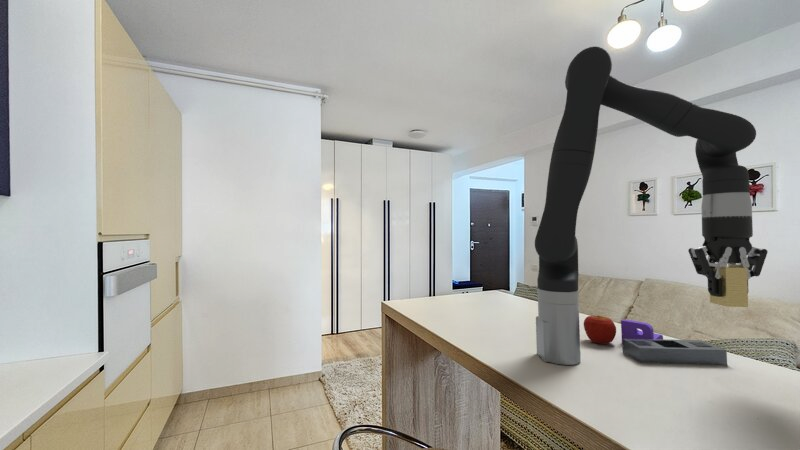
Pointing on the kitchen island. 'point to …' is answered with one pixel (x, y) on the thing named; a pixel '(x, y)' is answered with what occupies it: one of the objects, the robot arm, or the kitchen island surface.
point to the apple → (600, 329)
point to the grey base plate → (674, 351)
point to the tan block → (733, 288)
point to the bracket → (631, 330)
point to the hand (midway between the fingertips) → (728, 295)
